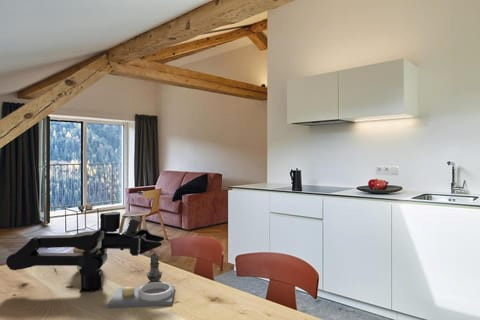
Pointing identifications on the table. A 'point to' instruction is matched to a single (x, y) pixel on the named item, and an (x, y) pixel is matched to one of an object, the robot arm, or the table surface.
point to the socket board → (137, 300)
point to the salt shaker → (154, 270)
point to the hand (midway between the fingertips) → (162, 241)
